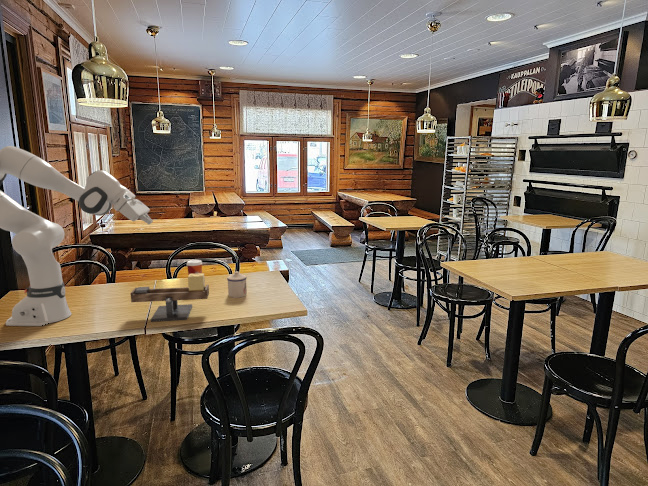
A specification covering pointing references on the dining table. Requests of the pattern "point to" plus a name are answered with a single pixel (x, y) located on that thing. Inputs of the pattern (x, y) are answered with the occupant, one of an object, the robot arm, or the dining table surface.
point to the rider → (196, 282)
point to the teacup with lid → (237, 285)
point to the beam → (169, 294)
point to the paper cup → (194, 266)
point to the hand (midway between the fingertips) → (151, 222)
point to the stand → (171, 311)
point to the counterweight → (142, 290)
